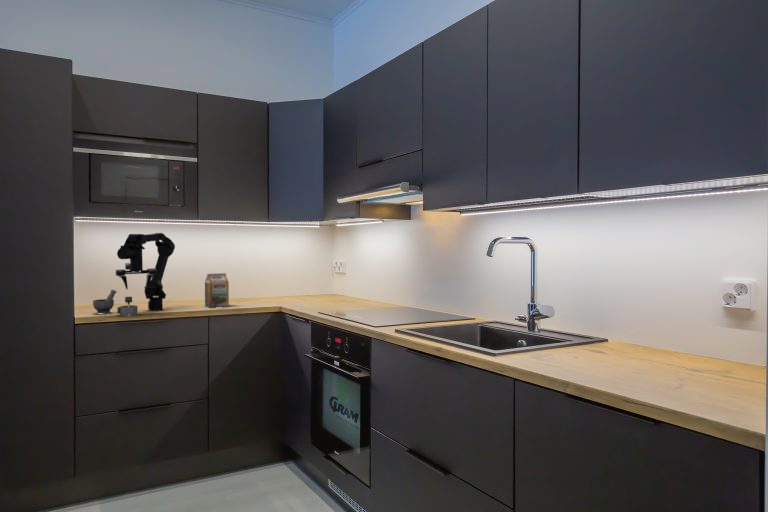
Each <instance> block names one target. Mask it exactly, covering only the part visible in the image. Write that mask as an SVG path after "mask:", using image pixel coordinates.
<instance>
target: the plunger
mask: <svg viewBox="0 0 768 512" xmlns="http://www.w3.org/2000/svg"><path fill="white" fill-rule="evenodd" d="M124 302H125V303H127V305H128V307H130V303H132V302H133V296H124Z"/></svg>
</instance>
